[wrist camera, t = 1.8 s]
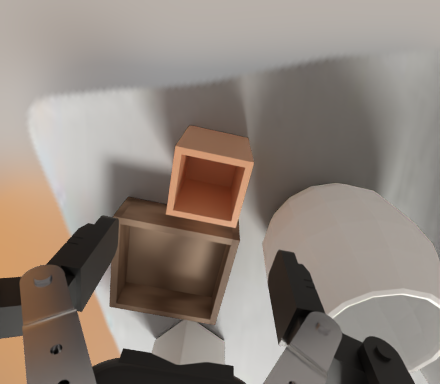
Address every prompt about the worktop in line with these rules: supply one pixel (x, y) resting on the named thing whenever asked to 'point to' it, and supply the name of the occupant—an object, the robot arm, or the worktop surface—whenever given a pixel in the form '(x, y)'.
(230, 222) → the terracotta crate
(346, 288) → the white round vase
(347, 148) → the worktop surface
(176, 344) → the milk carton
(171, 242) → the walnut crate
